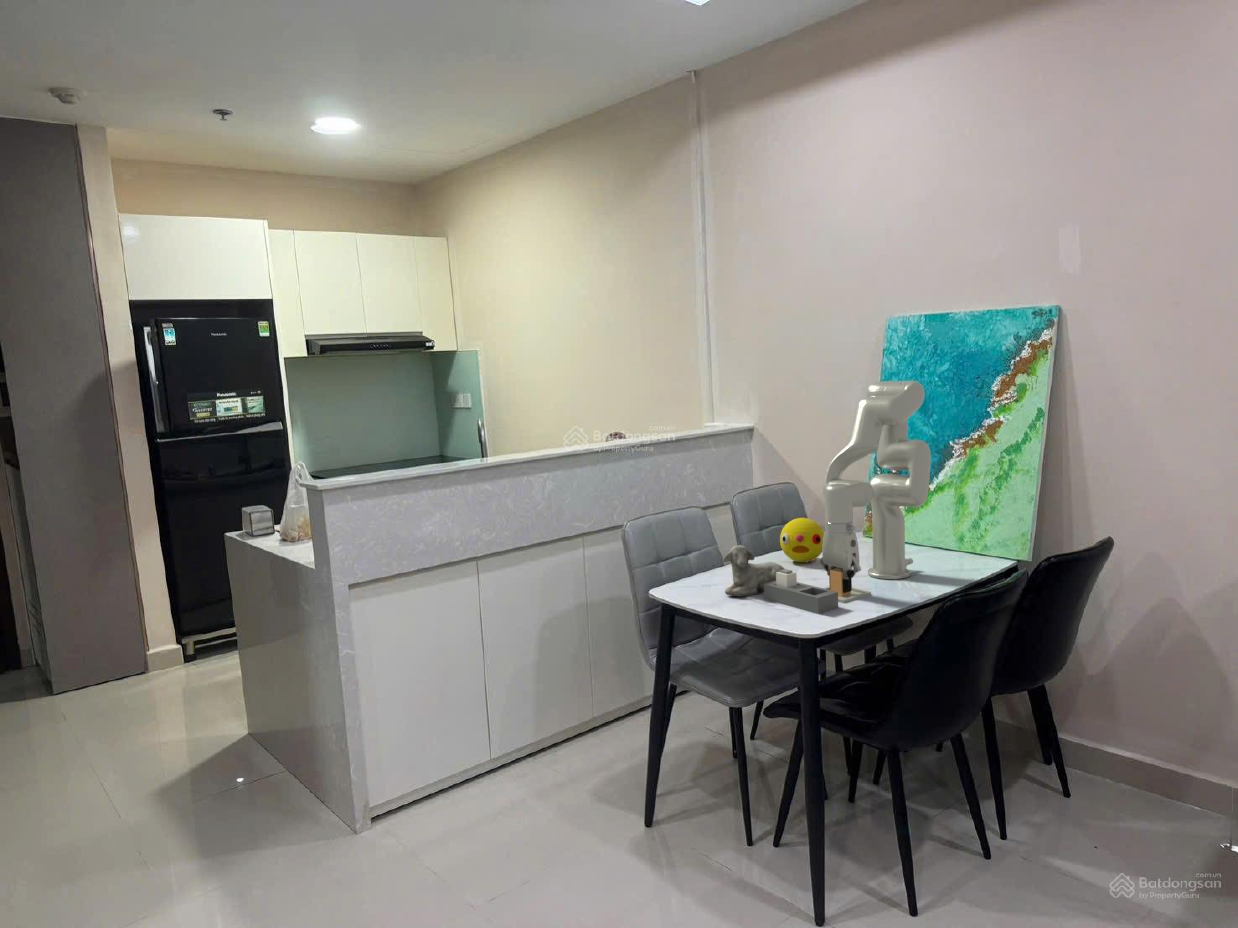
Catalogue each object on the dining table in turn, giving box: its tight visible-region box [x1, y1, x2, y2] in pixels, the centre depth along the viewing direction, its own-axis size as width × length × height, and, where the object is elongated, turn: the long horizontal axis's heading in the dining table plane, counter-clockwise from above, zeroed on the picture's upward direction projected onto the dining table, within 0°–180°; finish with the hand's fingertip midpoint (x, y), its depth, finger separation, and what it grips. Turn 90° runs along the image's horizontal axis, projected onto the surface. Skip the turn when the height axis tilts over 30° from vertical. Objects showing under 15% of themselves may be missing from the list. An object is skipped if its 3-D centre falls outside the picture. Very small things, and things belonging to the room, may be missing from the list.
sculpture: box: [722, 544, 785, 597], centre depth 243 cm, size 11×21×15 cm, turn 123°
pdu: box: [763, 568, 839, 615], centre depth 228 cm, size 8×20×9 cm, turn 35°
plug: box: [829, 567, 851, 597], centre depth 234 cm, size 4×4×8 cm
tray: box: [822, 585, 872, 604], centre depth 235 cm, size 12×12×1 cm
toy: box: [779, 517, 825, 563], centre depth 275 cm, size 15×16×15 cm
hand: (840, 589), depth 235 cm, fingers closed on plug, 4 cm apart
